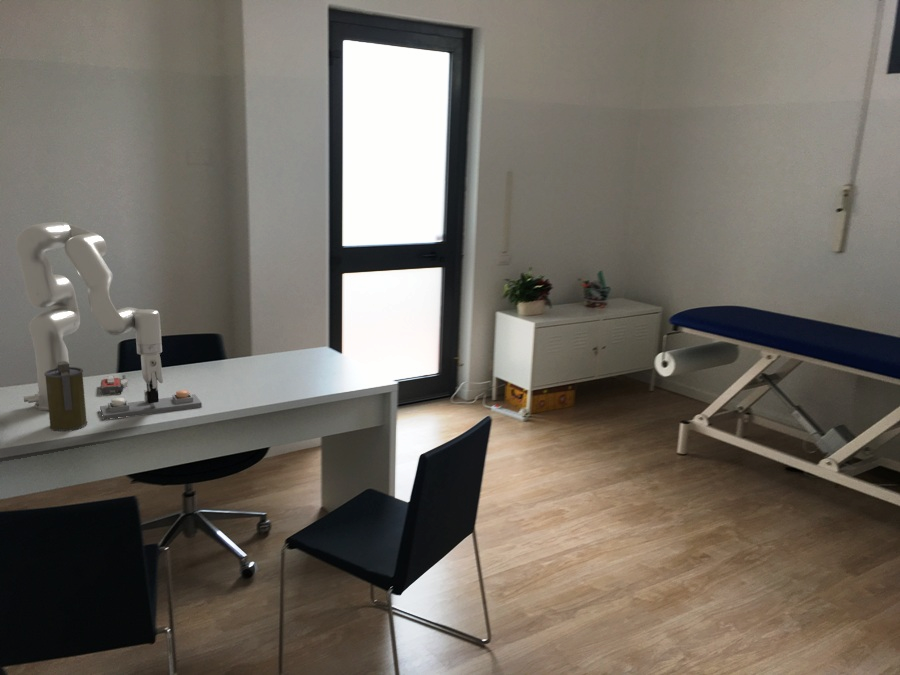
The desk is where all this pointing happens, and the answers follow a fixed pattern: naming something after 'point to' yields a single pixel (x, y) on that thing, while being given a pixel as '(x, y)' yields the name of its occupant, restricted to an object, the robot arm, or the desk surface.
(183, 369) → the desk surface
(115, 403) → the button left
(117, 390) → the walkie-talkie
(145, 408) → the panel
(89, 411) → the desk surface
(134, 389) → the desk surface
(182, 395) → the button right
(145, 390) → the lever
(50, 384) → the canister
